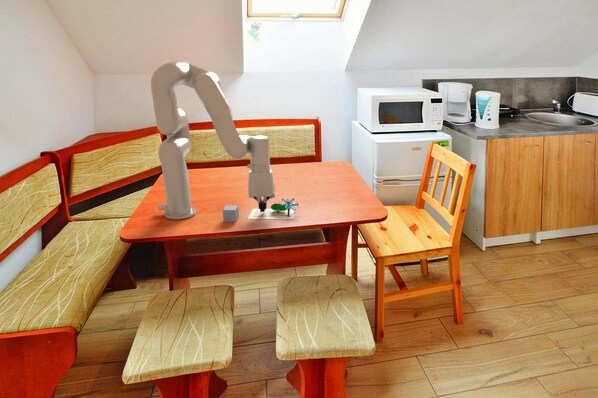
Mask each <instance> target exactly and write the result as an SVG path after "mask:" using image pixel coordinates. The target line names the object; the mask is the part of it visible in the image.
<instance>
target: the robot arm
mask: <svg viewBox="0 0 598 398" xmlns="http://www.w3.org/2000/svg"><path fill="white" fill-rule="evenodd" d="M150 79H151V80H150V90H151V91H150V92H151V95H152V102H153V110H154V116H155V123H156V124H155V125H156V128H157V130H158V131H159V132H160V133H161V134H162V135H165V136H166V138H165V139H164V140H163V141H162V142H161V144H159V147H158V153H157V155H158V159H159V162H160V163H159V164H160V166H161V171H162V177H163V183H164V192H165V198H166V203H165V204H164V203H159V204H157V207H158V210H159V211H164V217H165V218H166V219H168V220H176V221H177V220H184V219H189V218H191V217H193V216H194V215H196V213H197V210H196V208H195V207H194V206H192V199H191V198H192V197H191V189H190V182H189V174H188V166H187V164H186V159H185V157H186V156H187V155H188V154H189V153H190V151H191V148H192V141H191V140H192V139H191V134H190V126H189V125H190V124H189V120H188V117H187V114H186V113H185V112H184V111H183V110H182V109H181V108H179V107H178V102H177V101H178V100H177V95H176V92H175V88H176V87H178V86H181V85H183V86H185V87H189V88H192V89H194V92H195V93H196V95H197V97H198V98H199V100H200V101H201V104H202V105H203V107H204V109H205V111H206V112H207V113H208V115H209V118H210V119H211V121H212V125H213V128H214V130H215V132H216V135H217V137H218V139H219V141H220V143H221V145H222V146H223V148H224V150H225V151H226V153H227V155H228V156H229V157H230V158H232V159H234V160H240V159H243V158H244V157H245V156H246V155H247V154H249V157H250V164H247V165H246V168H247V169H250V170H249V171H248V177H247V178H248V179H247V180H248V182H247V183H248V184H247V185H248V186H247V187H248V189H247V190H248V197H249V198H251V199H254V200H255V201H256V202H257V203H258V209H260V212H265V209H268V207H267V206H268V205H267V202H268V201H269V200H270V199H273V198H275V197H276V193H275V180H274V175H273V174H274V173H273V170H272V169H271V160H270V158H271V157H270V141H269V138H268V136H265V135H254V136H252V135H243V134H239V131H238V130H237V128H236V125H235V123H234V119H233V111H232V108H231V106H230V103H229V102H228V101H227V98H226V97H225V95H224V93H223V91H222V90H221V88H220V87H221V80H220V79H219V77H218V75H217V74H216V73H215V72H212V71H209V70H207V69H204V68H202V67H198V66H195V65H194V64H191V63H188V62H185V61H169V62H166V63H164V64H161V66H159V67H158V68H156V69H155V70H154V72H153V73H152V76H151V78H150ZM262 197H263V199H262Z"/></svg>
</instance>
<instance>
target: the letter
mask: <svg viewBox="0 0 598 398" xmlns="http://www.w3.org/2000/svg"><path fill="white" fill-rule="evenodd" d="M295 213H296V210H295V211H294V210H292V209H290V213H289V217H288V210H285V211H279V214H277V211H276V210H272V209H271V208H267V209H265V212H260V209H259V208H252V210H251V211H250V213H249V215H248V217H247V220H294V216H295Z"/></svg>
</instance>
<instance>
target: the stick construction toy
mask: <svg viewBox="0 0 598 398" xmlns="http://www.w3.org/2000/svg"><path fill="white" fill-rule="evenodd" d="M281 201H282V202H285V203H283V204H282V203H273V204H271V206H270V209H272V210H276V211H277V214H279V211H285V210H288V217H289V213H290V209H292V210H294V211H295V212H296V208H294V207H296V206H299V203H298V202H296V203H292V202H293V201H295V198H294V197H293V198H292V199H291V200H289V199H288V198H287V200H286V199H284V198H282V199H281Z"/></svg>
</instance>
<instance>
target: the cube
mask: <svg viewBox="0 0 598 398" xmlns="http://www.w3.org/2000/svg"><path fill="white" fill-rule="evenodd" d="M239 213H240V211H239V205H229V204H228V205H225V206H224V208H223V209H222V218H223V222H224V223H225V222H227V223H228V222H231V223H232V222H235V223H236V222H237V221H238V219H239V218H240V215H239Z"/></svg>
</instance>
